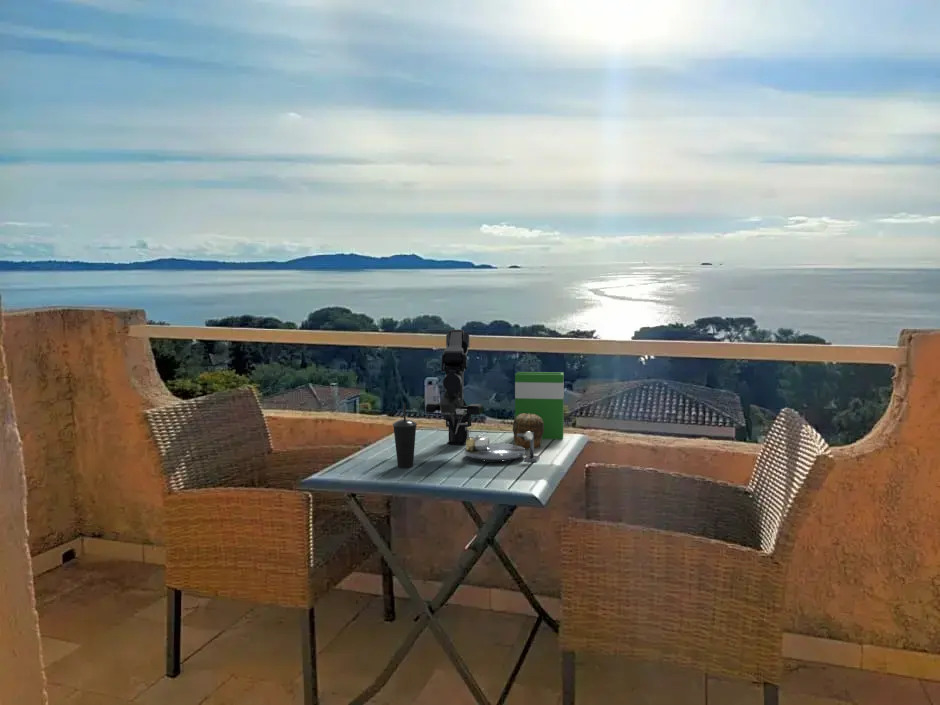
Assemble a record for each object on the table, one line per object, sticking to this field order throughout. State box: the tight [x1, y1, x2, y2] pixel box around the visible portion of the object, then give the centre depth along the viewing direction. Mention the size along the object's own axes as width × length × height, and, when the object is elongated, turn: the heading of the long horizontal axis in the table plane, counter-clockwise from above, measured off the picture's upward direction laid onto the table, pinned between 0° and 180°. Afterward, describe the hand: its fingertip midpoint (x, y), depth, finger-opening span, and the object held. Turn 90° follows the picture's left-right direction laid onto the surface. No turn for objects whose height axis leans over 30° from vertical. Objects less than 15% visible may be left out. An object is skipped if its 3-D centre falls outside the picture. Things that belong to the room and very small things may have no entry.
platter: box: [464, 438, 526, 461], centre depth 243 cm, size 20×20×5 cm
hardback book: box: [514, 371, 565, 440], centre depth 277 cm, size 18×7×24 cm, turn 81°
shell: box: [512, 413, 544, 450], centre depth 259 cm, size 11×11×12 cm
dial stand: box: [517, 431, 540, 463], centre depth 240 cm, size 7×5×10 cm
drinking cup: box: [392, 403, 418, 469], centre depth 232 cm, size 8×8×20 cm
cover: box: [469, 434, 490, 451], centre depth 245 cm, size 7×7×4 cm
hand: (454, 433), depth 247 cm, fingers closed
